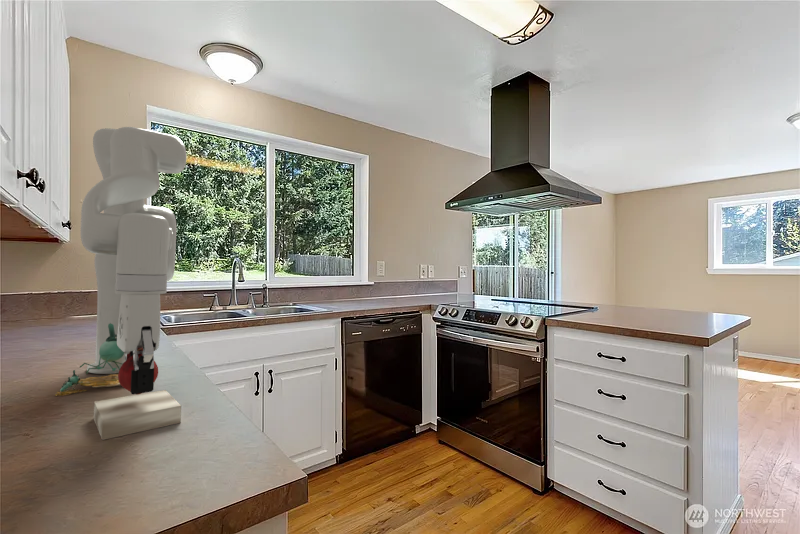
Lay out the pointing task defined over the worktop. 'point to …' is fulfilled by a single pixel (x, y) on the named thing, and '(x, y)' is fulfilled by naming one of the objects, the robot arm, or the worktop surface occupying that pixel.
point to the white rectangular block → (135, 413)
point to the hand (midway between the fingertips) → (138, 386)
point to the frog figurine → (107, 353)
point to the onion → (126, 369)
